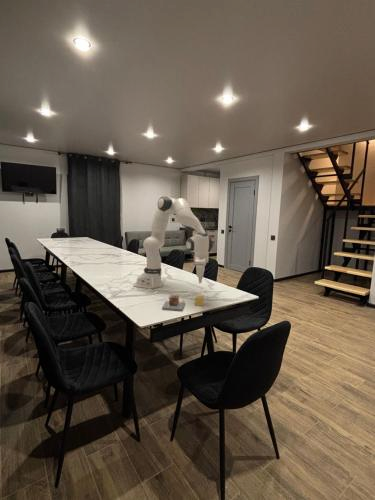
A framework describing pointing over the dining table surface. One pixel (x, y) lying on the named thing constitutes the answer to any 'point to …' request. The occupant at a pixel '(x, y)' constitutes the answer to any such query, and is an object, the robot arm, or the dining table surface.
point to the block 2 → (199, 300)
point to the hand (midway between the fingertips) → (200, 280)
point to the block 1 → (173, 300)
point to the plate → (178, 308)
